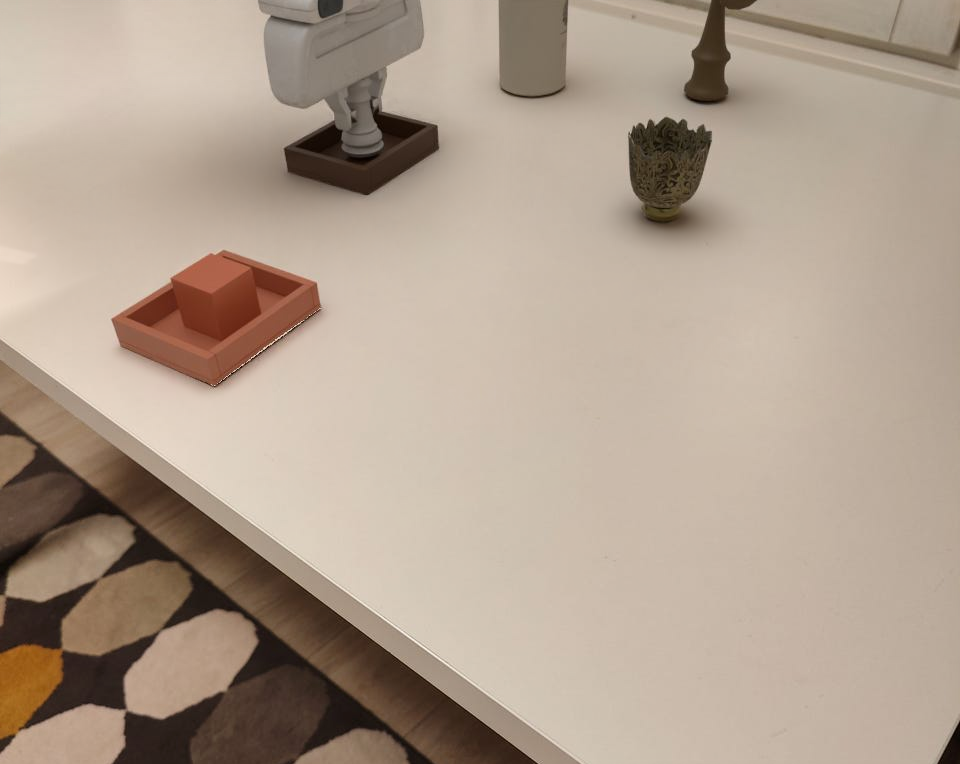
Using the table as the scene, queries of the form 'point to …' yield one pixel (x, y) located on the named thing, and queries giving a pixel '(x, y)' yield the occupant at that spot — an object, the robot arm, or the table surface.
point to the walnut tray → (364, 175)
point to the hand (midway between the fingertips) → (359, 120)
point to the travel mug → (532, 46)
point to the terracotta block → (216, 296)
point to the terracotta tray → (170, 343)
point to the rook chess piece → (361, 123)
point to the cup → (666, 165)
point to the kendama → (712, 54)
